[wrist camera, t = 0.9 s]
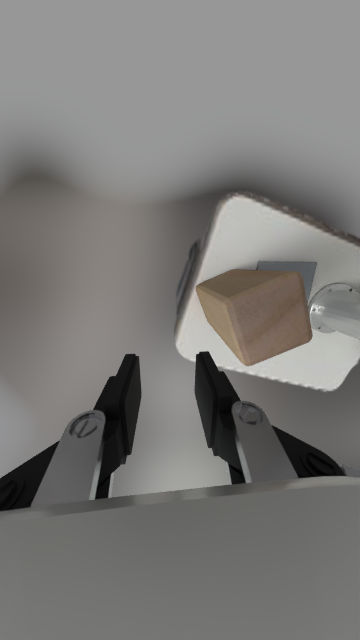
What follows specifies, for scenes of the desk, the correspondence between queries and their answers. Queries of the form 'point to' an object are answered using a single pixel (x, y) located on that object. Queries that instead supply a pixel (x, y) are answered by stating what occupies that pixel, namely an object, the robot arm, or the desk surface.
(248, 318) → the wooden block
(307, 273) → the mat
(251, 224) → the desk surface
